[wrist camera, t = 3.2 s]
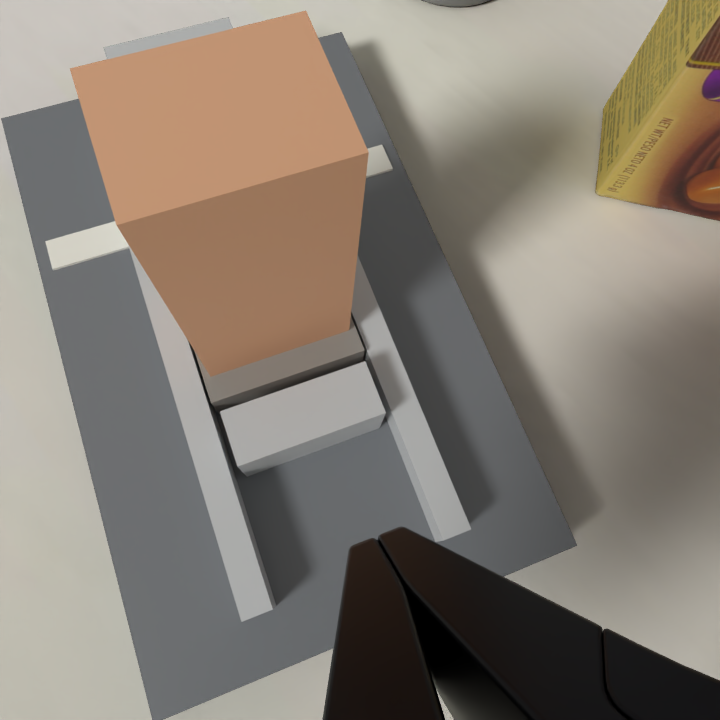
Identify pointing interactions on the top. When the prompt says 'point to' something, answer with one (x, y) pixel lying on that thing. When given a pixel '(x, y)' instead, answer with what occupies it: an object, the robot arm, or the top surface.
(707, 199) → the candy box
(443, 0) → the travel mug
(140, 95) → the fader tab
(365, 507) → the board
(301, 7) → the top surface
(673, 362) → the top surface
